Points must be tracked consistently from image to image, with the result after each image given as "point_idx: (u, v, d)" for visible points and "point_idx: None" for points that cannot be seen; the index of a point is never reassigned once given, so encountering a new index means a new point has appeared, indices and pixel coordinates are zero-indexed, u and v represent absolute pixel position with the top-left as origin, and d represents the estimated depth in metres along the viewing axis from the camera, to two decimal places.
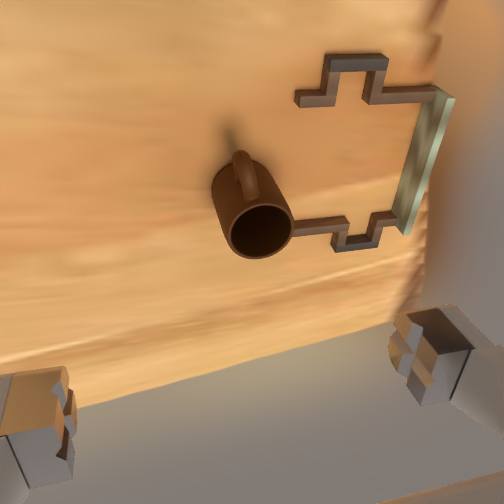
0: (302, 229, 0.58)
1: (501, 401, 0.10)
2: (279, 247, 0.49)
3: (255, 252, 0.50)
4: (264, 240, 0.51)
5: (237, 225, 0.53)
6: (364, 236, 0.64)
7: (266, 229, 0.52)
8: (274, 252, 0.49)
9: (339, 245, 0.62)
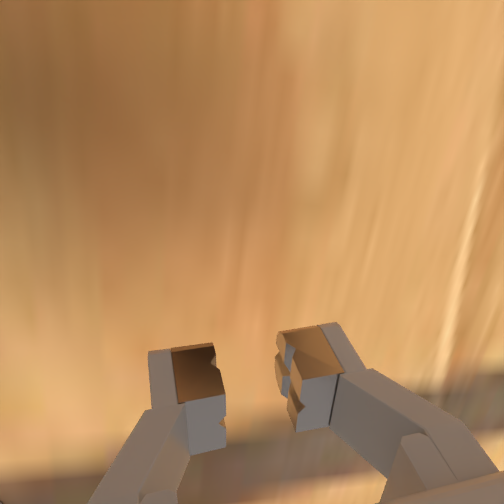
0: None
1: (370, 429, 0.09)
2: None
3: None
4: None
5: None
6: None
7: None
8: None
9: None
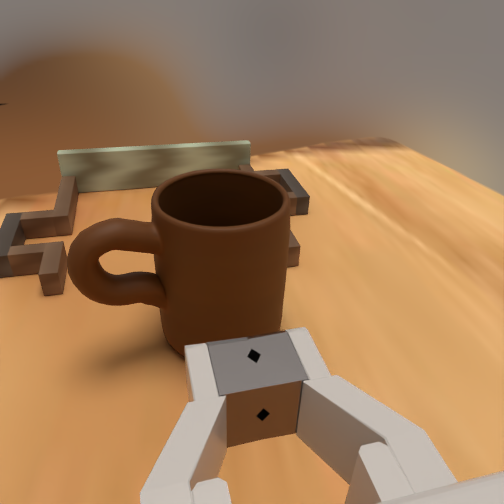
0: None
1: (334, 437, 0.09)
2: (254, 177, 0.26)
3: (281, 206, 0.25)
4: None
5: None
6: None
7: None
8: (266, 179, 0.26)
9: (295, 195, 0.41)
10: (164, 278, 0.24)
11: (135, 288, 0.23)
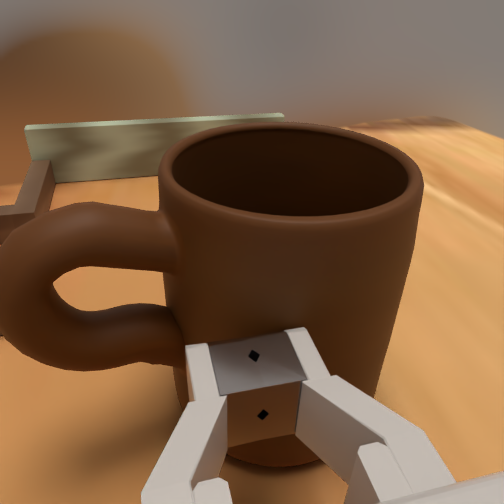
0: None
1: (333, 437, 0.09)
2: (335, 135, 0.15)
3: (393, 183, 0.14)
4: (359, 210, 0.16)
5: None
6: None
7: None
8: (360, 136, 0.15)
9: None
10: (183, 317, 0.13)
11: (129, 338, 0.12)
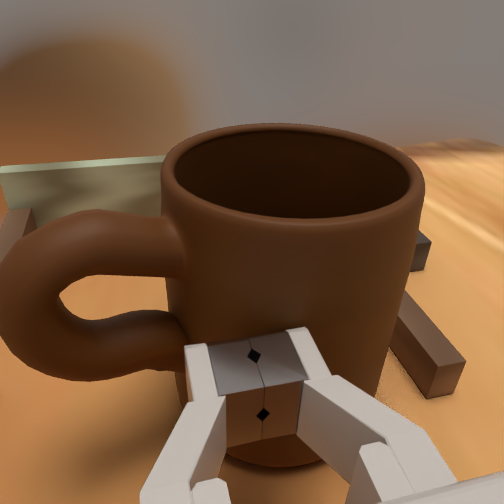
0: (408, 323, 0.18)
1: (334, 437, 0.09)
2: (331, 135, 0.15)
3: (392, 182, 0.14)
4: (356, 209, 0.16)
5: None
6: None
7: None
8: (356, 136, 0.15)
9: None
10: (190, 323, 0.13)
11: (135, 346, 0.12)
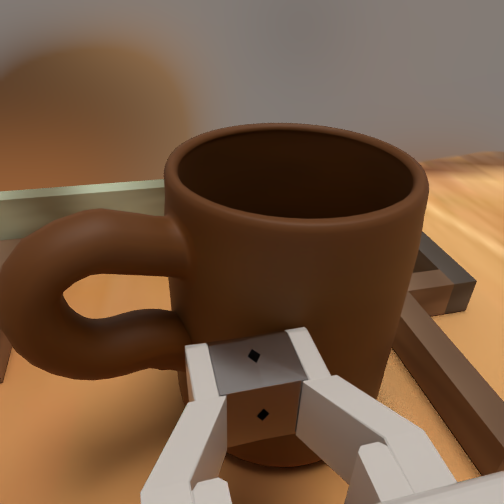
0: (463, 389, 0.16)
1: (333, 437, 0.09)
2: (335, 135, 0.15)
3: (396, 182, 0.14)
4: (359, 209, 0.16)
5: None
6: None
7: None
8: (360, 136, 0.15)
9: (448, 279, 0.21)
10: (193, 322, 0.13)
11: (138, 345, 0.12)
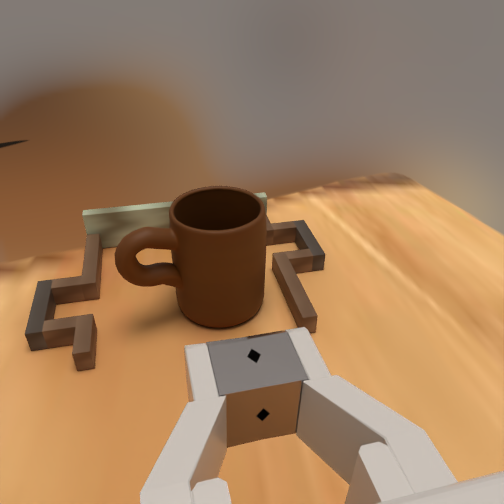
0: (295, 298, 0.37)
1: (334, 437, 0.09)
2: (240, 192, 0.37)
3: (260, 213, 0.35)
4: (252, 222, 0.37)
5: None
6: (296, 240, 0.47)
7: None
8: (249, 193, 0.36)
9: (311, 253, 0.43)
10: (180, 266, 0.34)
11: (160, 274, 0.34)
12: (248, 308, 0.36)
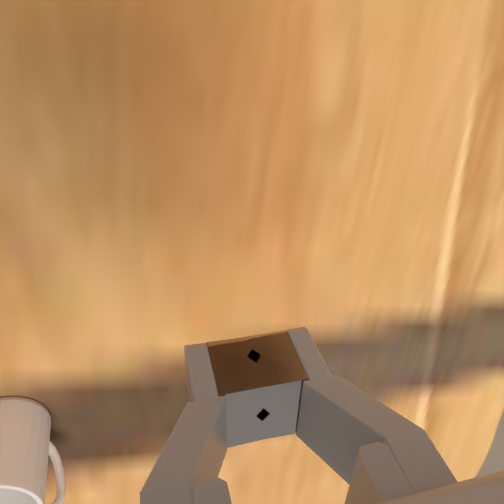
0: None
1: (334, 437, 0.09)
2: None
3: None
4: None
5: None
6: None
7: None
8: None
9: None
10: None
11: None
12: None
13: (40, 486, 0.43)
